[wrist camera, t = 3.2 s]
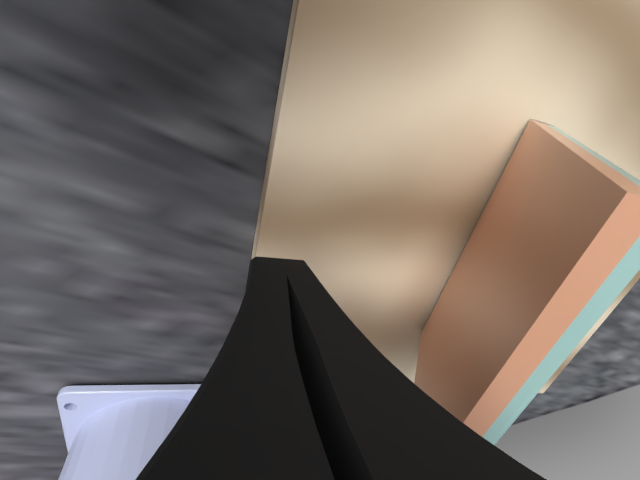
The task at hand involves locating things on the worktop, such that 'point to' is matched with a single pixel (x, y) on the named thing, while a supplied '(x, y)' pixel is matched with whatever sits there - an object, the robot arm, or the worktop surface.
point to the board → (429, 137)
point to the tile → (530, 279)
